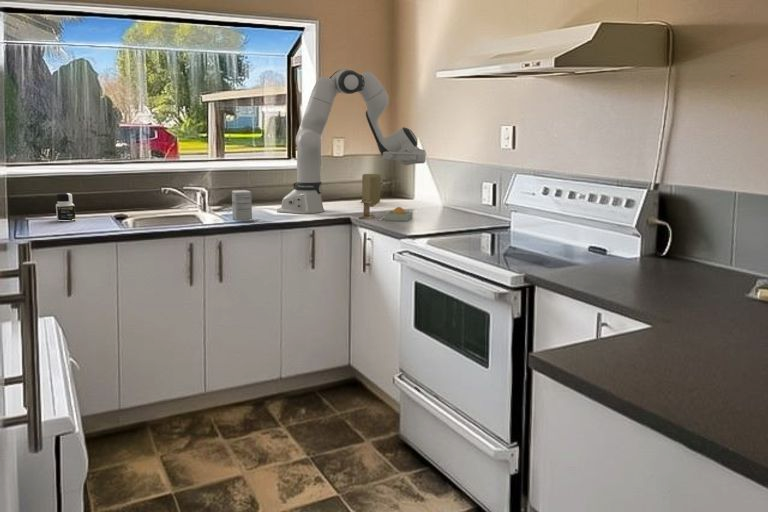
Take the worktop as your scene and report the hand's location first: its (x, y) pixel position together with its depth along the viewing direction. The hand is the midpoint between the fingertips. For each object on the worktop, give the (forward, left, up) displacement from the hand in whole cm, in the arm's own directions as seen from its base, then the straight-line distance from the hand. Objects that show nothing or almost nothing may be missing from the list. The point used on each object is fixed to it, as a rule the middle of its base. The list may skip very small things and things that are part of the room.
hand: (401, 157), depth 342 cm
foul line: (-5, -16, -27) cm, 31 cm away
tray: (+3, -16, -27) cm, 31 cm away
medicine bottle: (-136, -58, -27) cm, 151 cm away
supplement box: (-64, -34, -27) cm, 78 cm away
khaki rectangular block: (-23, +33, -27) cm, 48 cm away
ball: (+3, -16, -26) cm, 31 cm away
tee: (-12, -15, -27) cm, 33 cm away
